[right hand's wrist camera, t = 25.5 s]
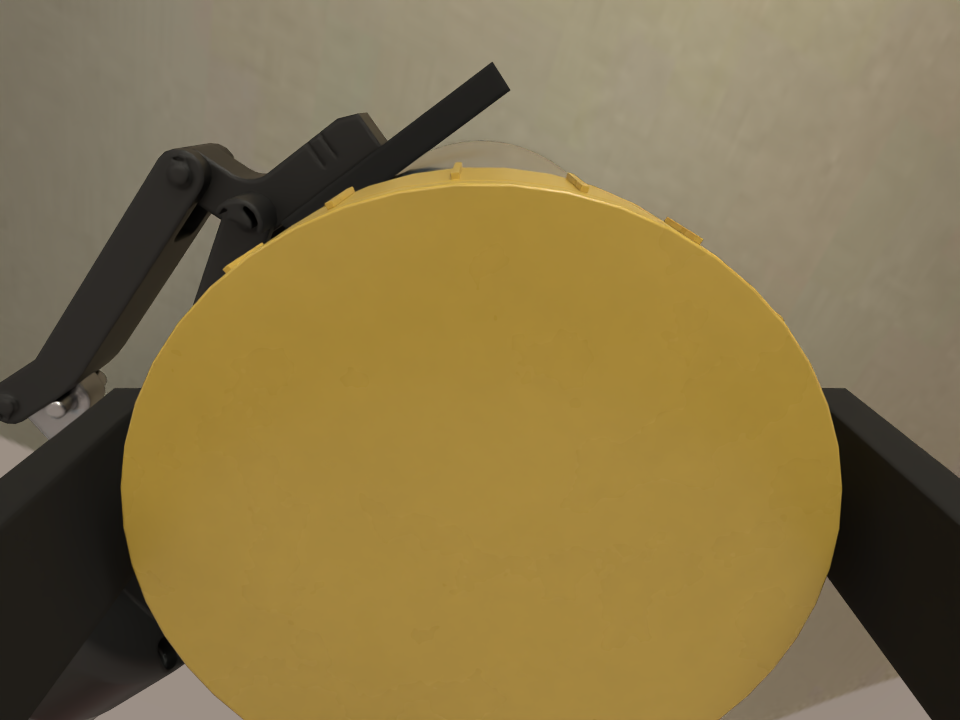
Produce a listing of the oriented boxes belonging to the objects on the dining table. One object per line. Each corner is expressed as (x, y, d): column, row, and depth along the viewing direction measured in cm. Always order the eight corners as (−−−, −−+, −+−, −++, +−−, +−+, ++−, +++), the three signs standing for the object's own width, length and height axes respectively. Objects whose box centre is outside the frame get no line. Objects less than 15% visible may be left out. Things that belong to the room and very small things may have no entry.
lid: (907, 449, 12) (993, 521, 10) (502, 772, 15) (506, 878, 13) (447, 1, 9) (438, -26, 7) (67, 496, 12) (-14, 574, 10)
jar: (647, 183, 25) (899, 308, 10) (563, 419, 28) (656, 774, 13) (382, 106, 24) (219, 116, 9) (329, 360, 27) (148, 670, 12)
